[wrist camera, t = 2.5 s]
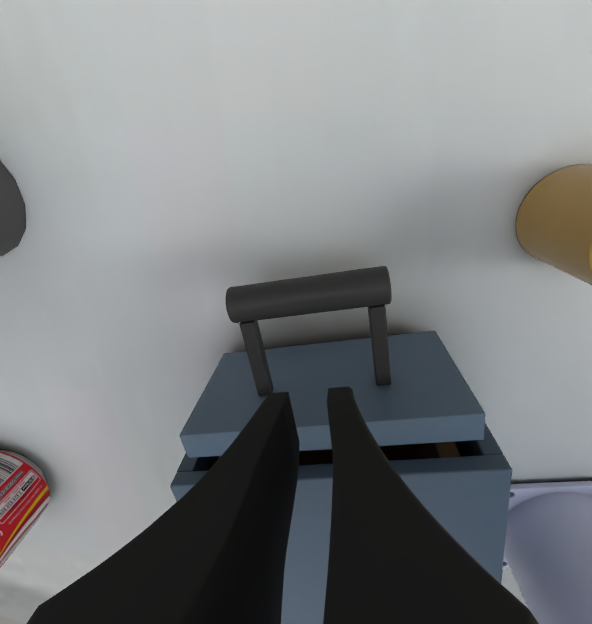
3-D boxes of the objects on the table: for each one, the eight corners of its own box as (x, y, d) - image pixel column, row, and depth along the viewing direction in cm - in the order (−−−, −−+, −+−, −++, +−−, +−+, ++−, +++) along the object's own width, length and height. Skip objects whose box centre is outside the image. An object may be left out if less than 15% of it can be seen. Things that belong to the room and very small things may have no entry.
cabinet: (225, 371, 21) (169, 486, 13) (443, 349, 19) (513, 469, 11) (270, 521, 26) (247, 662, 19) (444, 516, 24) (493, 671, 17)
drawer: (198, 268, 17) (133, 322, 11) (433, 233, 15) (493, 276, 10) (269, 507, 24) (250, 615, 18) (438, 501, 22) (475, 618, 16)
